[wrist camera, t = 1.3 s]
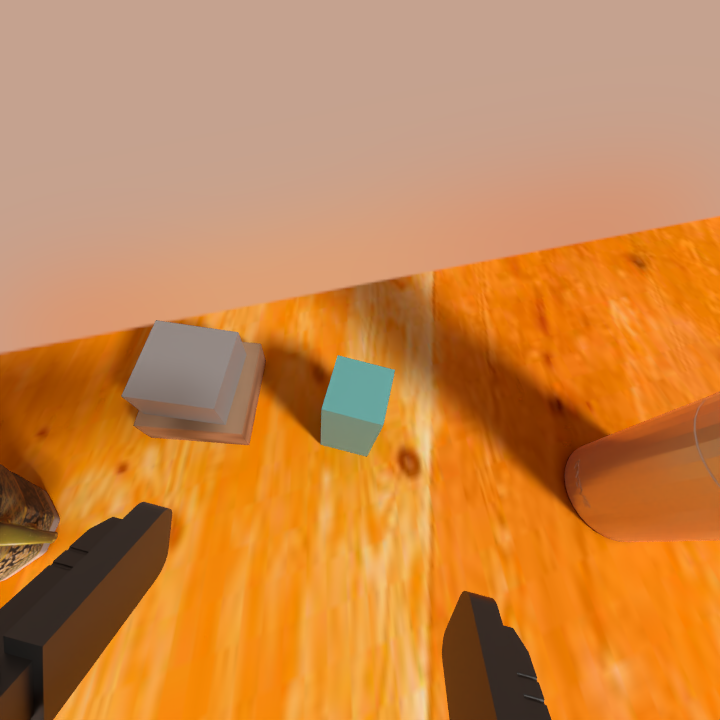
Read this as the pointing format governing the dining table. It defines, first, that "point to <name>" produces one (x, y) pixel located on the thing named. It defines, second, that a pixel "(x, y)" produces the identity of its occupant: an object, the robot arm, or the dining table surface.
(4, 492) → the ceramic cup
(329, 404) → the teal column
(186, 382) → the tower top
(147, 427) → the tower base
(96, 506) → the dining table surface
